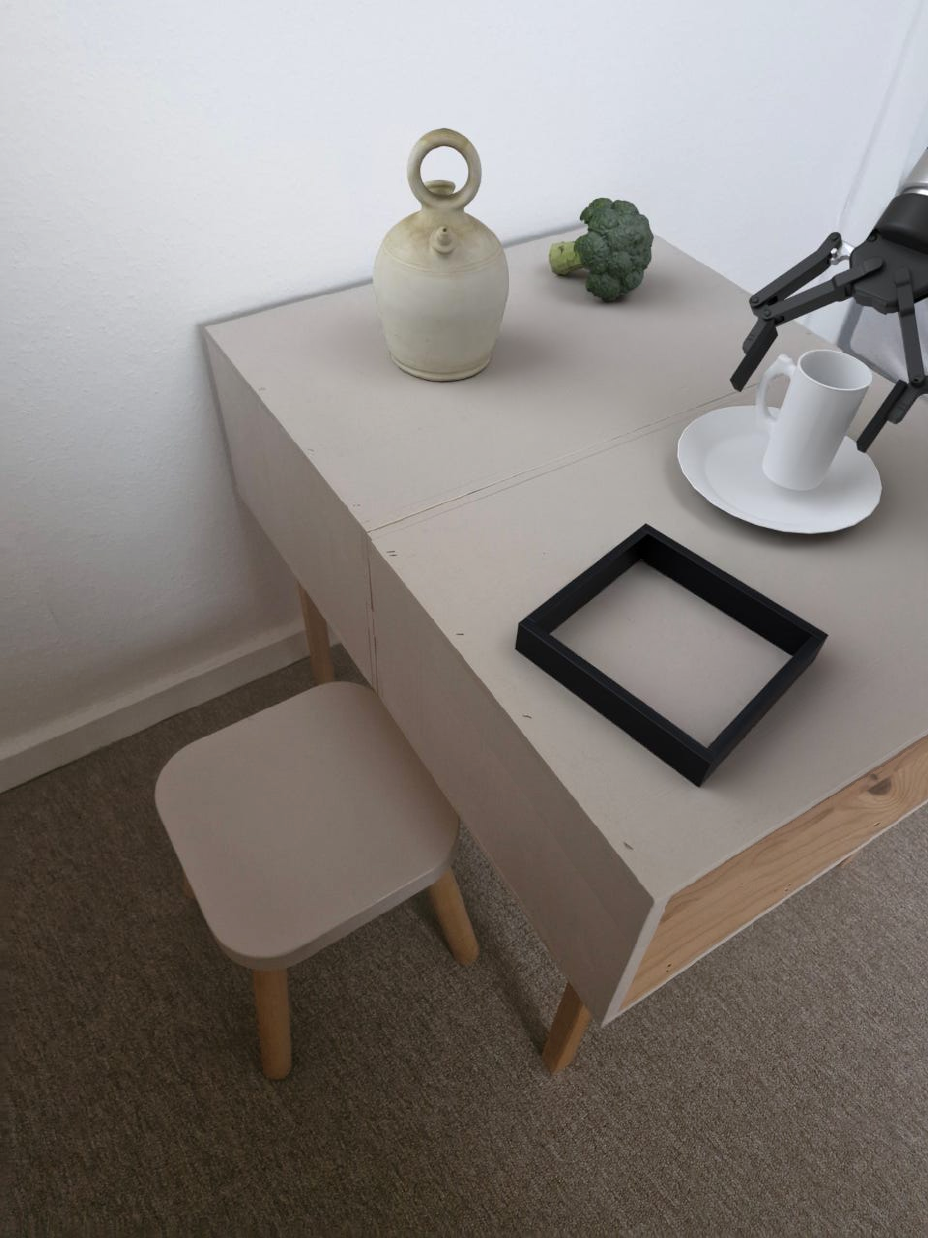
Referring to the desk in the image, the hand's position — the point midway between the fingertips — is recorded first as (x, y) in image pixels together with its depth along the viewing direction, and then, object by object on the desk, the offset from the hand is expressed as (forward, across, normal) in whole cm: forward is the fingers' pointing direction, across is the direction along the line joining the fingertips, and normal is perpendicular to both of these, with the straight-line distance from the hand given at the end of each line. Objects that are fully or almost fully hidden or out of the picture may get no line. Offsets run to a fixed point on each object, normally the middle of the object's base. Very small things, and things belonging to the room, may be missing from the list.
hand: (795, 416), depth 82 cm
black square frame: (+25, -6, +12) cm, 28 cm away
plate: (+5, 0, -8) cm, 10 cm away
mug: (+4, 0, -6) cm, 7 cm away
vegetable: (-8, +39, -21) cm, 45 cm away
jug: (+12, +41, -2) cm, 43 cm away
